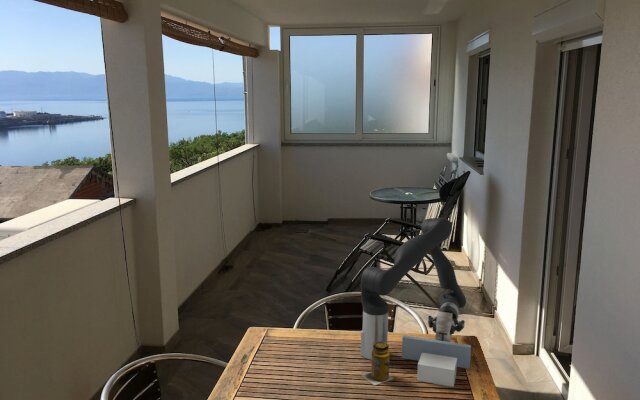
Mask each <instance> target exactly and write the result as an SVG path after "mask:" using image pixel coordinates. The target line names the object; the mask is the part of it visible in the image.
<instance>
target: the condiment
mask: <svg viewBox="0 0 640 400" xmlns="http://www.w3.org/2000/svg"><path fill="white" fill-rule="evenodd" d="M389 347H390V346H389V344H388V342H387V343H386V342H375V343H374V344H373V351H372V360H371V364H370V365H371V368H370V369H371V371H370V372H368V373H366V374H363V375H362V374H361V377H362V378H363V379H364V380H366V381H367V382H369V383H371V384H372V385H374V386H378V385H380V384H383V383H386V382H389V381H392V380H394V379H395V378H394V377H393V376H391V375H390V356H391V355H390V350H389V349H390V348H389Z"/></svg>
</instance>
